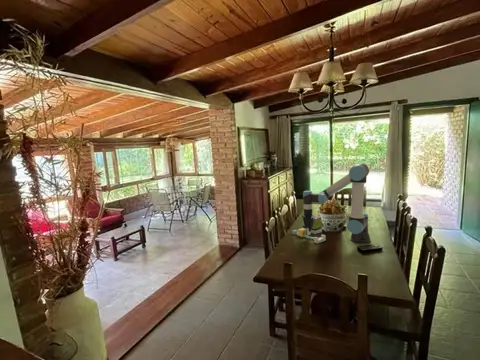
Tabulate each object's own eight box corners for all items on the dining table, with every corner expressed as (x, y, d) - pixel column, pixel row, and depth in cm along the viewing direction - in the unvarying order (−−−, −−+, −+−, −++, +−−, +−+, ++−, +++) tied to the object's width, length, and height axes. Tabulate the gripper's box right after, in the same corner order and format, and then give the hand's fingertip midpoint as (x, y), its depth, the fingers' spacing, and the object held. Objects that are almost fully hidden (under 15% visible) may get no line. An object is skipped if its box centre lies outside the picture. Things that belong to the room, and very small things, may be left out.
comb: (325, 240, 242) (325, 235, 241) (317, 243, 236) (317, 238, 235) (322, 239, 245) (322, 234, 244) (314, 242, 239) (314, 237, 238)
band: (300, 234, 260) (300, 231, 260) (298, 235, 258) (297, 232, 258) (299, 234, 261) (299, 231, 261) (297, 235, 259) (296, 232, 259)
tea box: (302, 231, 270) (302, 216, 268) (309, 228, 276) (308, 214, 274) (315, 234, 258) (314, 218, 257) (322, 232, 264) (321, 216, 263)
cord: (322, 241, 239) (322, 239, 239) (321, 242, 238) (321, 240, 238) (294, 233, 265) (294, 231, 265) (293, 233, 264) (293, 232, 264)
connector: (298, 233, 263) (298, 230, 263) (295, 234, 261) (295, 231, 260) (295, 232, 266) (295, 229, 266) (291, 233, 264) (291, 230, 263)
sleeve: (306, 235, 256) (306, 229, 255) (302, 237, 253) (302, 230, 252) (302, 234, 260) (301, 228, 259) (298, 235, 257) (298, 229, 256)
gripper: (316, 208, 244) (317, 235, 247) (305, 206, 255) (306, 232, 257) (310, 210, 240) (311, 237, 242) (299, 208, 250) (300, 234, 253)
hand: (308, 234), depth 250 cm, fingers closed
